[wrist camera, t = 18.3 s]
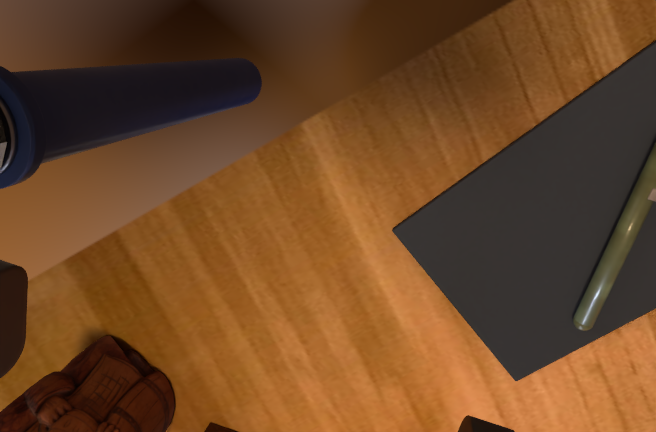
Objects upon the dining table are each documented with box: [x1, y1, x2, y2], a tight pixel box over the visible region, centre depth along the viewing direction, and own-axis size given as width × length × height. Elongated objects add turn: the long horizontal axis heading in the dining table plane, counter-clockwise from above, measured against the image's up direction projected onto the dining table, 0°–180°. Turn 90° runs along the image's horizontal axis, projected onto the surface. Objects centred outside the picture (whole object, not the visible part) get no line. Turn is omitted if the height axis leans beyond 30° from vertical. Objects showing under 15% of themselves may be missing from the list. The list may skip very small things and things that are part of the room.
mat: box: [392, 41, 656, 381], centre depth 37 cm, size 26×16×1 cm, turn 131°
